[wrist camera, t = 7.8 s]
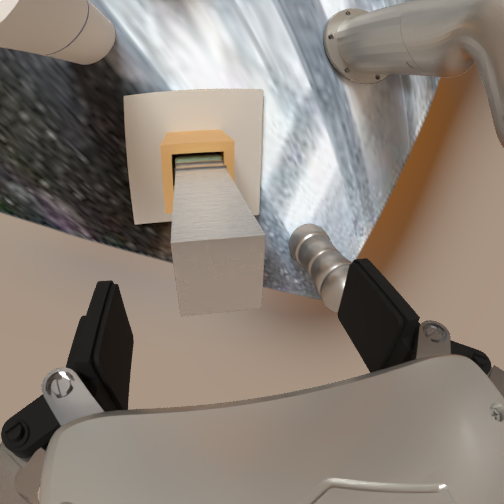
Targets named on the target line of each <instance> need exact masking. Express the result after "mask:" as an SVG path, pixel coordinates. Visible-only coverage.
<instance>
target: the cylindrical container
mask: <svg viewBox="0 0 504 504" xmlns="http://www.w3.org/2000/svg"><path fill="white" fill-rule="evenodd" d="M115 37H116V32H115V28H114V26H113V24H112V23H111V22H110V21H109V20H108V19H107V18H106V17H105V16H104V15H103V14H102V13H101V12H100V11H99V10H98V9H97V8H96V7H95V6H94V5H93V4H92V3H91V2H90V1H89V0H0V47H3V48H9V49H15V50H20V51H26V52H31V53H35V54H40V55H45V56H49V57H53V58H58V59H62V60H66V61H70V62H74V63H78V64H81V65H88V64H92V63H95V62H97V61H99V60H101V59H102V58H103V57H105V56H106V55H107V54H108V53H109V51H110V50H111V48H112V46H113V45H114V42H115Z"/></svg>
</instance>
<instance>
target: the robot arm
mask: <svg viewBox="0 0 504 504" xmlns="http://www.w3.org/2000/svg"><path fill="white" fill-rule="evenodd" d="M328 37H329V38H330V39H329V38H328ZM323 41H324V48H325V51H326V54H327V56H328V58H329V60H330V62H331V63H332V65H333V66H334V68H335V69H336V70H337V71H338V72H339V73H340V74H342V75H343V76H344V77H346V78H347V79H349V80H351V81H354V82H357V83H363V84H373V83H377V82H379V81H382V80H383V79H385V78H386V77H387V76H388V75H389V74H398V75H420V76H433V77H455V76H458V75H461V74H463V73H464V72H466V70H468V69H469V68H470V67H471V66H472V65H473V64H474V63H475V64H476V66H477V68H478V71H479V74H480V77H481V79H482V81H483V84H484V88H485V91H486V94H487V98H488V101H489V106H490V110H491V114H492V118H493V122H494V126H495V130H496V134H497V136H498V139H499V141H500V143H501V145H502V146H503V147H504V0H414V1H409V2H405V3H401V4H396V5H393V6H389V7H385V8H381V9H378V10H374V11H371V12H367V11H365V10H361V9H351V8H350V9H345V10H342V11H340V12H338V13H336V14H334V15H333V16H332V17H331V18H330V19H329V20H328V22H327V24H326V26H325V29H324V36H323ZM338 318H339V320H340V322H341V324H342V325H343V327H344V328H345V330H346V332H347V334H348V335H349V337H350V339H351V340H352V342H353V344H354V345H355V347H356V349H357V350H358V352H359V354H360V355H361V357H362V359H363V361H364V362H365V364H366V366H367V368H368V369H369V371H370V373H369V374H365V375H362V376H358V377H354V378H350V379H347V380H343V381H339V382H335V383H331V384H327V385H322V386H318V387H314V388H309V389H304V390H299V391H294V392H290V393H284V394H278V395H273V396H267V397H261V398H255V399H248V400H241V401H233V402H225V403H217V404H208V405H197V406H185V407H172V408H155V409H134V410H128V396H129V383H130V370H131V361H132V351H133V334H132V331H131V327H130V324H129V321H128V318H127V314H126V311H125V308H124V304H123V301H122V297H121V294H120V290H119V287H118V284H114V283H113V281H99V282H98V283H97V285H96V288H95V291H94V293H93V296H92V299H91V302H90V305H89V308H88V311H87V314H86V316H82V317H81V319H80V321H79V324H78V327H77V331H76V334H75V337H74V340H73V343H72V347H71V350H70V354H69V357H68V361H67V365H66V368H56V369H54V370H52V371H51V372H49V373H48V374H47V375H46V377H45V378H44V380H43V382H42V392H43V395H41V396H40V397H39V398H37V399H36V400H35V401H33V402H32V403H30V404H29V405H28V406H26V407H25V408H23V409H22V410H21V411H19V412H18V413H17V414H15V415H14V416H13V417H11V418H10V419H9V420H7V421H6V422H5V424H4V426H3V428H2V432H1V438H2V442H1V444H0V504H504V371H502V370H501V369H499V368H498V367H496V366H495V365H494V366H493V368H492V367H491V362H490V360H489V358H488V357H487V356H486V354H484V353H483V352H481V351H479V350H476V349H474V348H471V347H468V346H465V345H462V344H459V343H456V342H454V341H451V340H450V333H449V331H448V330H447V329H446V327H445V326H443V325H442V324H440V323H438V322H436V321H425V322H423V323H422V324H420V323H419V322H418V321H419V318H420V317H419V316H418V315H417V314H416V313H415V311H414V310H413V309H412V308H411V307H410V305H409V304H408V303H407V302H406V301H405V300H404V299H403V297H402V296H401V295H400V294H399V293H398V292H397V291H396V289H395V288H394V287H393V286H392V285H391V284H390V283H389V282H388V280H387V279H386V278H385V277H384V276H383V275H382V274H381V273H380V272H379V270H377V268H376V267H375V266H374V265H373V264H372V263H371V262H370V261H369V260H368V259H366V258H365V259H356V260H354V261H353V262H352V263H351V264H350V265H349V269H348V273H347V277H346V282H345V286H344V290H343V294H342V298H341V302H340V306H339V310H338ZM39 487H40V503H39V501H38V498H37V492H38V489H39Z"/></svg>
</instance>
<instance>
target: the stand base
mask: <svg viewBox="0 0 504 504" xmlns="http://www.w3.org/2000/svg"><path fill="white" fill-rule="evenodd" d="M262 117H263V90H262V89H196V90H178V91H165V92H154V93H144V94H136V95H128V96H124V121H125V138H126V152H127V164H128V174H129V184H130V192H131V201H132V208H133V216H134V222H135V224H146V223H157V222H168V221H172V212H173V198H174V185H175V157H177V154H185V153H201V152H216V153H217V154H218V155H221V157H222V160H223V164H224V165H226V169H227V171H228V173H229V174H230V176H231V178H232V179H233V181H234V183H235V185H236V186H237V188H238V190H239V191H240V193H241V195H242V196H243V198H244V200H245V201H246V203H247V205H248V206H249V208H250V210H251V212H252V213H253V215H259V205H260V177H261V148H262Z"/></svg>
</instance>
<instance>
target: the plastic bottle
mask: <svg viewBox="0 0 504 504" xmlns="http://www.w3.org/2000/svg"><path fill="white" fill-rule="evenodd" d="M289 248H290V252H291V255H292V257H293V258H294V259H295V260H296V261H297V262H298V263H299V264H300V265H301V266H303V267H304V268H305V270H306V271H307V272H308V273H309V274H310V276H311V278H312V279H313V281H314V283H315V285H316V287H317V289H318V292H319V294H320V297H321V299H322V301H323V303H324V305H325V306H326V307H327V308H329V309H330V310H332V311H334V312H336V313H338V310H339V306H340V302H341V298H342V294H343V290H344V286H345V282H346V277H347V273H348V269H349V265H350V264H351V263H352V262H350V261H349V260H348V259H346V258H345V257H344V256H343V255H342V254H341V253H340V252H339V251H338V250H337V249H336V248H335V246H334V245H333V244H332V242H331V241H330V238H329V236H328V235H327V233H326V232H325V231H324V230H323V229H322V228H321V227H319V226H317V225H315V224H304V225H302V226H300V227H298V228H297V229H296V230H295V231H294V232H293V233H292V235H291V237H290V240H289Z"/></svg>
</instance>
